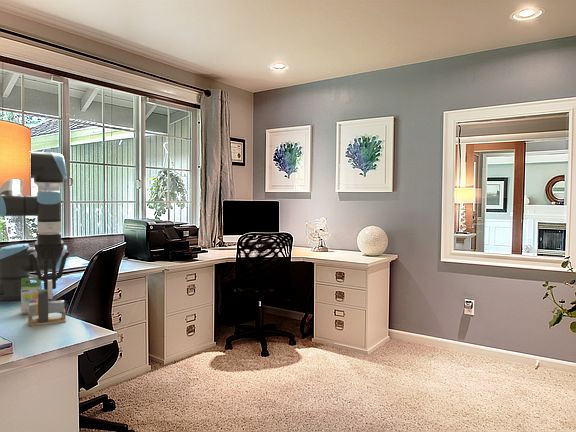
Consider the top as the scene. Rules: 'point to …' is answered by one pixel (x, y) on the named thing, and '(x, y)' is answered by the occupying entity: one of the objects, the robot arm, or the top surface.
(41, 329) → the top surface
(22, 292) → the ink box
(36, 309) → the pipe
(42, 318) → the grey upright block
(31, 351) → the top surface
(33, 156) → the robot arm
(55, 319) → the board
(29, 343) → the top surface
